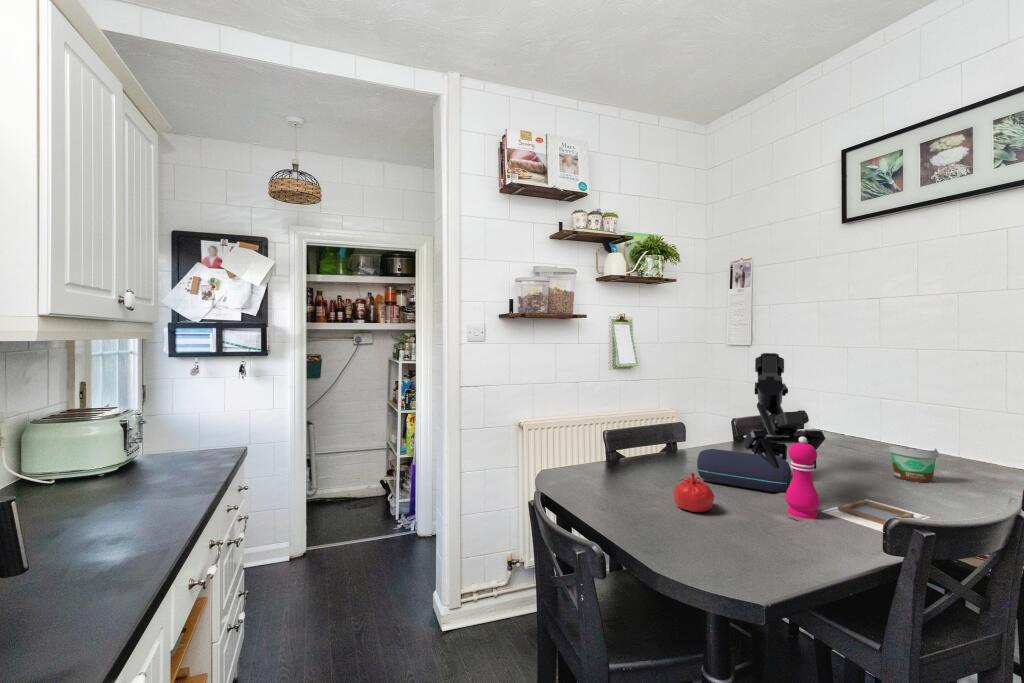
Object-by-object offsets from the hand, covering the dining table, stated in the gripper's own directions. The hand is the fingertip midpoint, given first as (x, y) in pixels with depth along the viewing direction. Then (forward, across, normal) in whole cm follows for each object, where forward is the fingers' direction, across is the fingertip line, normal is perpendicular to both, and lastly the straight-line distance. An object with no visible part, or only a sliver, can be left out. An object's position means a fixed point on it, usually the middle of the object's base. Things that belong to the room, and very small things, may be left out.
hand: (796, 468), depth 119 cm
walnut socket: (+9, +18, +6) cm, 21 cm away
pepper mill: (+10, 0, +7) cm, 12 cm away
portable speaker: (-7, -3, +24) cm, 25 cm away
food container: (-12, +52, +28) cm, 60 cm away
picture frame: (+10, +18, +6) cm, 21 cm away
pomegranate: (+6, -24, +11) cm, 27 cm away
